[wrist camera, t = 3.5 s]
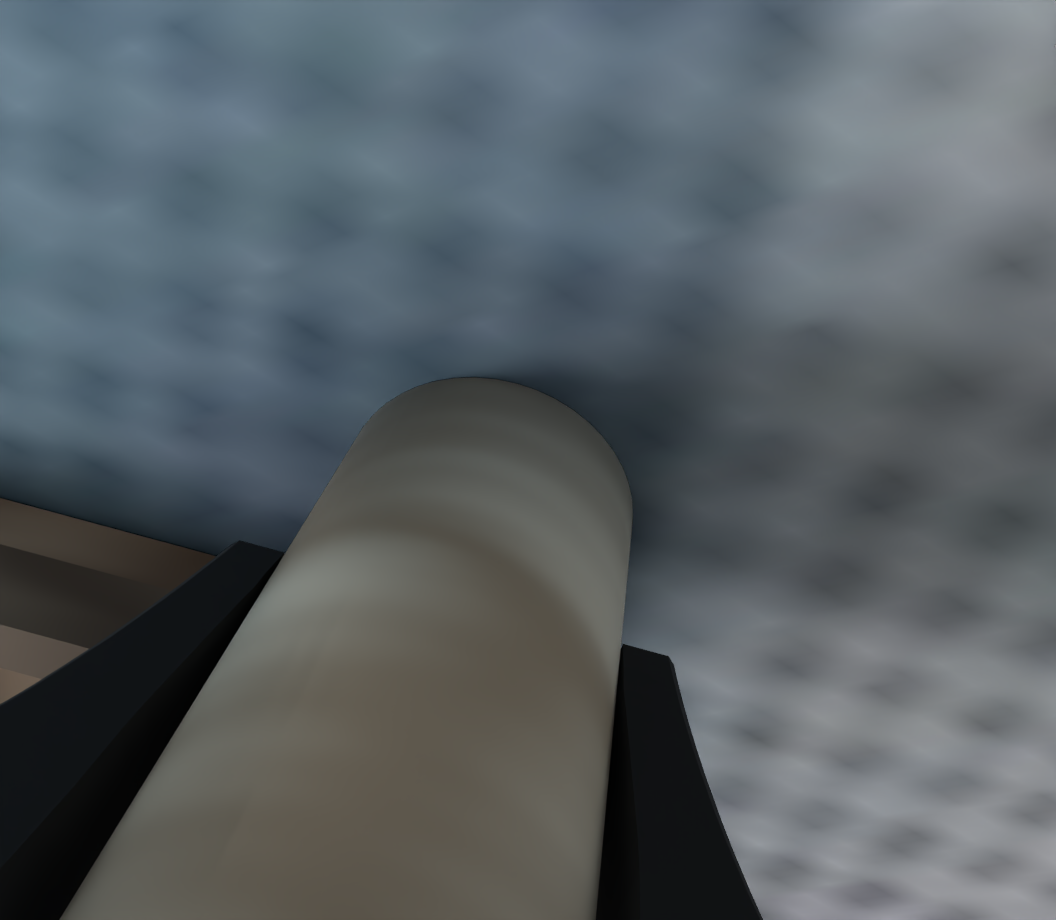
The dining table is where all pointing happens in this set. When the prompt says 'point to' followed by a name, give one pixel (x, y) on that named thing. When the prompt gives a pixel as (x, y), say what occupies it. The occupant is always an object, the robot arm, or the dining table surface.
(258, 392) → the dining table surface
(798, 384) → the dining table surface
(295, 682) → the ash peg
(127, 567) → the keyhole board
